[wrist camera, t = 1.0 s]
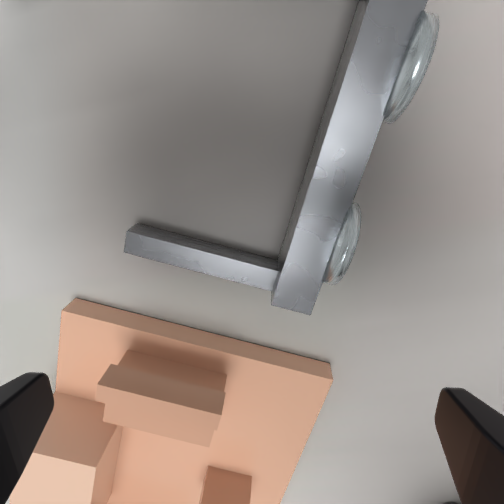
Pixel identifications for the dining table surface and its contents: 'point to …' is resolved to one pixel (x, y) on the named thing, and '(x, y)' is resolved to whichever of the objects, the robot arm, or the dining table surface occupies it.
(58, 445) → the display stand
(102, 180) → the dining table surface
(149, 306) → the dining table surface
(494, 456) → the robot arm
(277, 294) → the glasses frame
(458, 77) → the dining table surface
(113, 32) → the dining table surface
